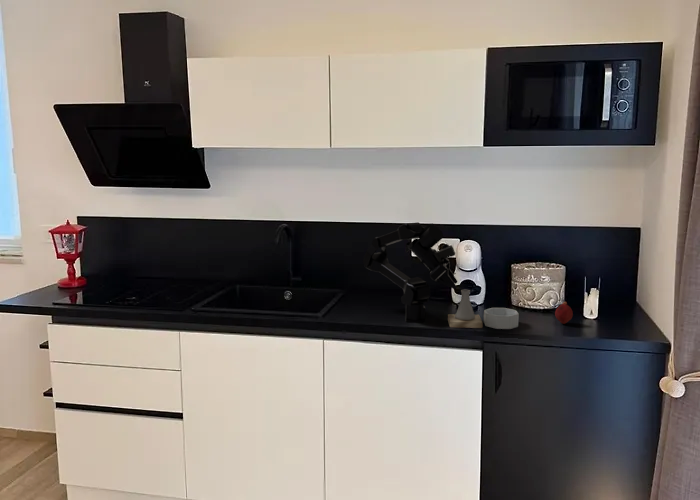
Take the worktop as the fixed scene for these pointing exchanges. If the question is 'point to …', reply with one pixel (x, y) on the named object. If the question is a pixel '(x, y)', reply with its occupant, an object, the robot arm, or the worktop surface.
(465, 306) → the flask
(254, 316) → the worktop surface
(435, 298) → the worktop surface
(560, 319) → the onion
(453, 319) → the oak board
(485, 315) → the collar
